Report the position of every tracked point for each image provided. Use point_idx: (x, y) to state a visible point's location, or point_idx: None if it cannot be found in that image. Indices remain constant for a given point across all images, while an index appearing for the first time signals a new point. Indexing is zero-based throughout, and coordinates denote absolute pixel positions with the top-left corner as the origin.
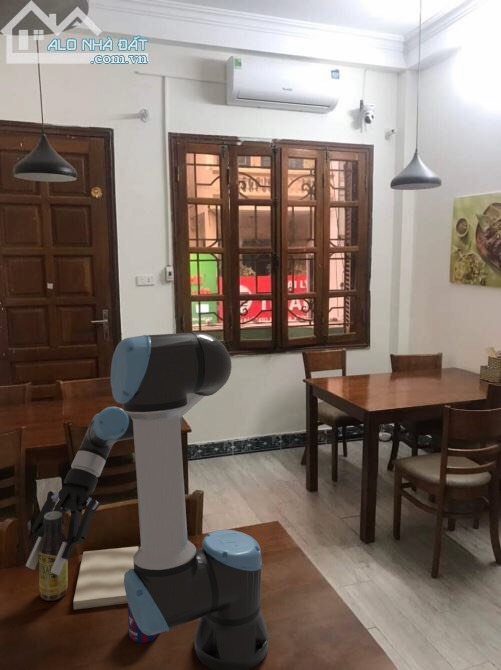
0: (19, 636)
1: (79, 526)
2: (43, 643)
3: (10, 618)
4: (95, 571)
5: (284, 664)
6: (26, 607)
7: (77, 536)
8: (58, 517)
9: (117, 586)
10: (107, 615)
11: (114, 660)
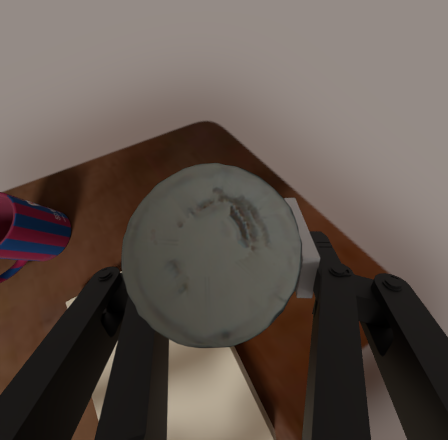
0: (231, 160)
1: (80, 329)
2: (185, 162)
3: (278, 186)
4: (189, 355)
5: None
6: None
7: (103, 282)
8: (128, 227)
9: None
10: (119, 248)
11: (73, 172)
